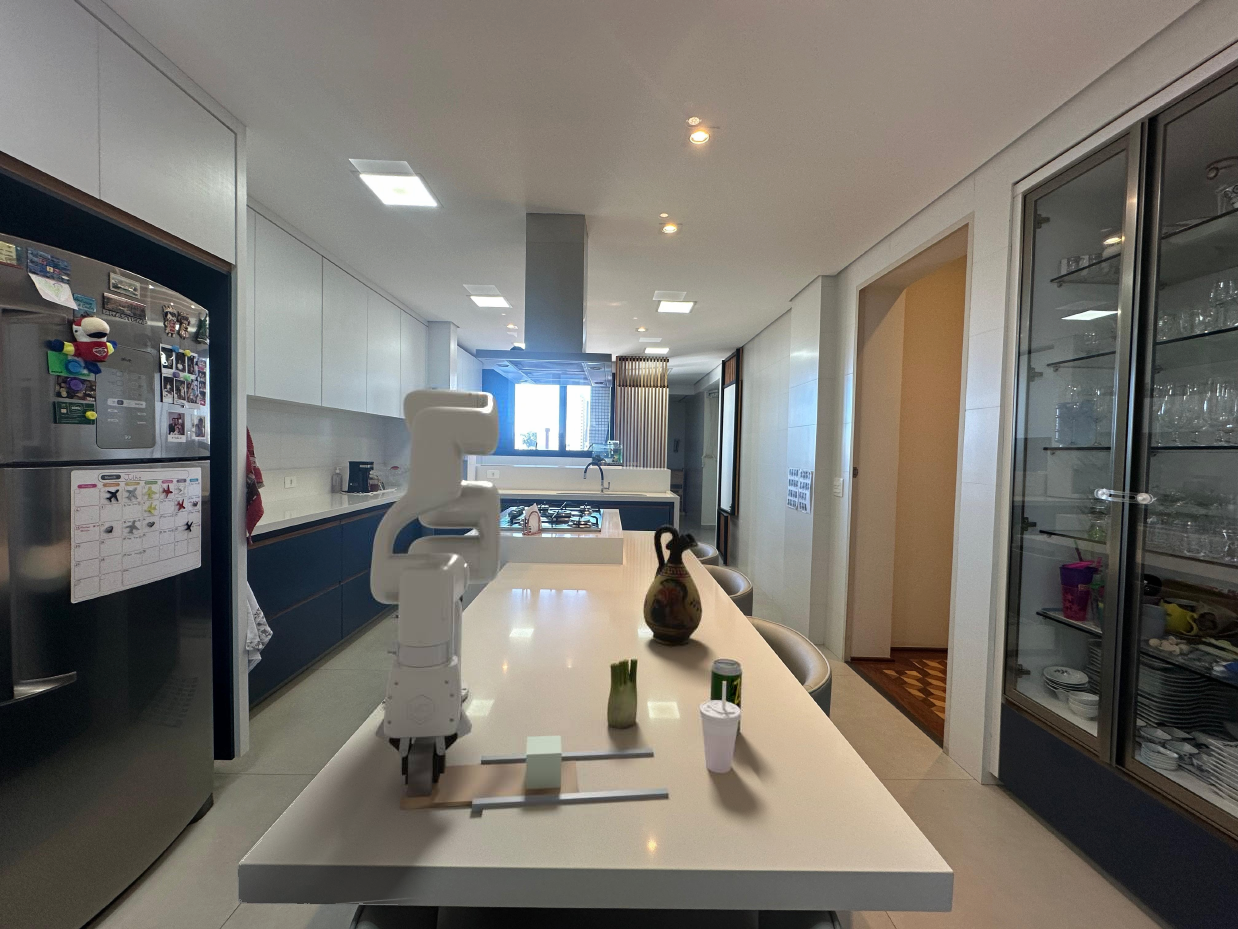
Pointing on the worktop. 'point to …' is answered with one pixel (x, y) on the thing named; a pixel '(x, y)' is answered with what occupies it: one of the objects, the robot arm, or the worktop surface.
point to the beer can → (727, 682)
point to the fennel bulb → (623, 695)
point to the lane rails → (568, 797)
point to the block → (543, 762)
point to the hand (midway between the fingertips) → (423, 777)
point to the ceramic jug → (672, 592)
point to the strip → (471, 780)
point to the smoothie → (719, 732)
